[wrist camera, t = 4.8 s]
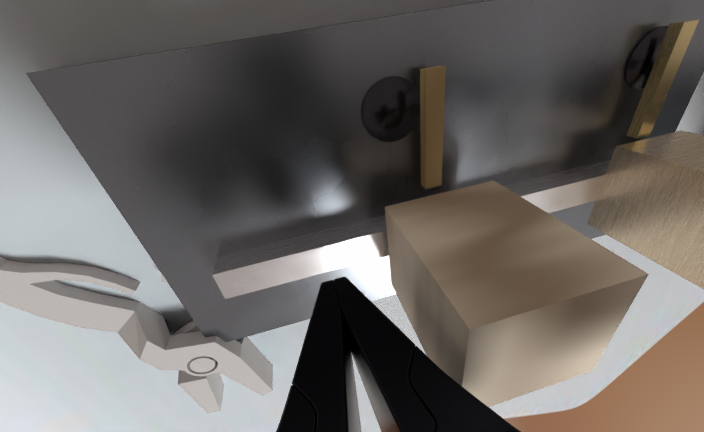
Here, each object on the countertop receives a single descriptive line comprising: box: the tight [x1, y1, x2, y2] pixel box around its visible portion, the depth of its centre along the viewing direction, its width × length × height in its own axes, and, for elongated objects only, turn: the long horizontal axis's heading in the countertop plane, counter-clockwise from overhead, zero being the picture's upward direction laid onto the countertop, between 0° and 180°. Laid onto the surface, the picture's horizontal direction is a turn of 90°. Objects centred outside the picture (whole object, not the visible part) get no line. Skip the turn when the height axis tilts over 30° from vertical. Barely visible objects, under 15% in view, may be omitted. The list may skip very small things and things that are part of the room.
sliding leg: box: [385, 66, 648, 407], centre depth 8 cm, size 4×7×6 cm, turn 9°
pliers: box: [0, 256, 273, 413], centre depth 11 cm, size 10×2×15 cm
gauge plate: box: [26, 0, 704, 342], centre depth 9 cm, size 22×11×7 cm, turn 98°
